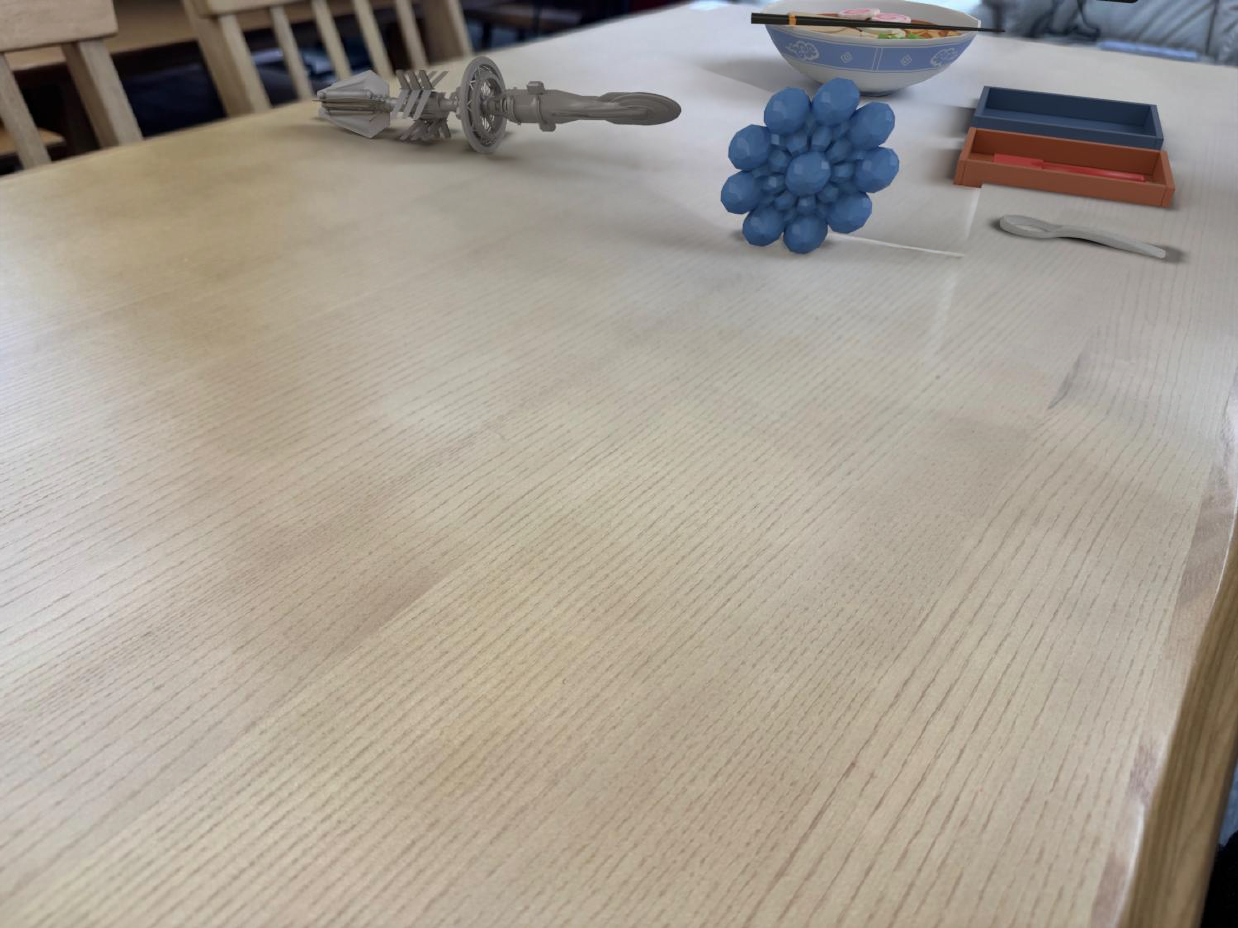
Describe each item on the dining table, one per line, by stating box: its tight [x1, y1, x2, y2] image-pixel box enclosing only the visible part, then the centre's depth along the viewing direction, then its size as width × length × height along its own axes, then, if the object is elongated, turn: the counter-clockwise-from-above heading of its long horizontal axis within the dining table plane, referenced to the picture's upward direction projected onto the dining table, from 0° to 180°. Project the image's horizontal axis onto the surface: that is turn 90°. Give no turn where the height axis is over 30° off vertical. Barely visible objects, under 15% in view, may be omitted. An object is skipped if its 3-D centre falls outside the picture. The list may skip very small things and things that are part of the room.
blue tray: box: [970, 85, 1165, 151], centre depth 95 cm, size 16×12×2 cm
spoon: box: [999, 213, 1166, 259], centre depth 71 cm, size 3×12×2 cm, turn 64°
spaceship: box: [311, 55, 682, 155], centre depth 85 cm, size 8×35×8 cm
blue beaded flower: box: [720, 78, 900, 255], centre depth 68 cm, size 12×7×12 cm, turn 80°
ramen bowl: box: [750, 0, 1006, 97], centre depth 106 cm, size 25×23×8 cm
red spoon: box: [992, 154, 1147, 183], centre depth 83 cm, size 12×3×1 cm, turn 69°
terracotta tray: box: [952, 126, 1176, 208], centre depth 83 cm, size 16×10×2 cm, turn 69°
